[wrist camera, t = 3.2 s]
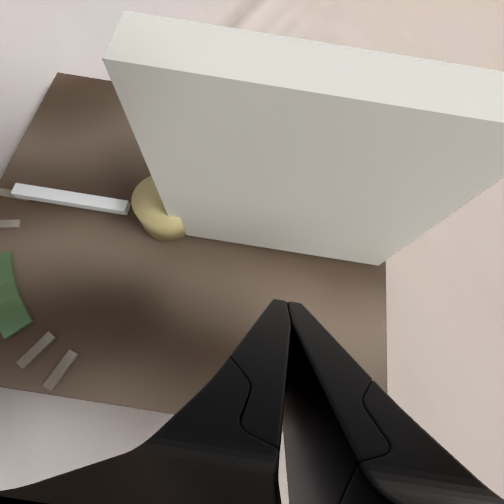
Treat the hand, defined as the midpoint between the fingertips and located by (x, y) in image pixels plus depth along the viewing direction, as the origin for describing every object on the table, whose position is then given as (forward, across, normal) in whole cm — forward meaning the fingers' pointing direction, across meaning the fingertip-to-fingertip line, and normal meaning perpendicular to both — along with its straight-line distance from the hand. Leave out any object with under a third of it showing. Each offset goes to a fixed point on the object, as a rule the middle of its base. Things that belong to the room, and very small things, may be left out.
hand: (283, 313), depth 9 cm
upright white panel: (+7, +4, 0) cm, 8 cm away
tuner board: (+8, +4, +1) cm, 9 cm away
